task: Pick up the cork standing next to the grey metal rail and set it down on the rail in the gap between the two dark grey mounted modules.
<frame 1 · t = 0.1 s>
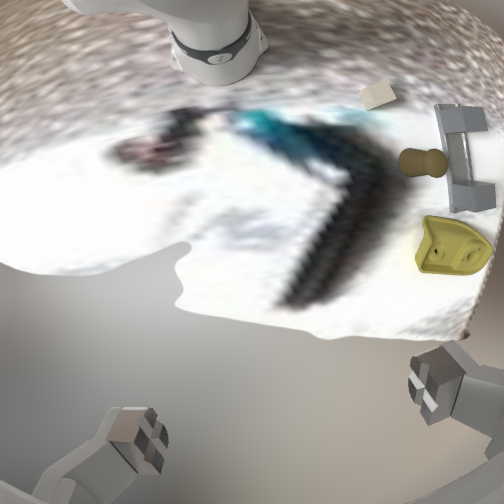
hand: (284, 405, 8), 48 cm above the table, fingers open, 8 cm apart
plastic component: (445, 246, 57), on the table
module 2: (448, 122, 48), resting on rail
module 1: (459, 192, 53), resting on rail
cork: (410, 162, 51), on the table
rail: (455, 157, 51), on the table
beige block: (371, 98, 48), on the table
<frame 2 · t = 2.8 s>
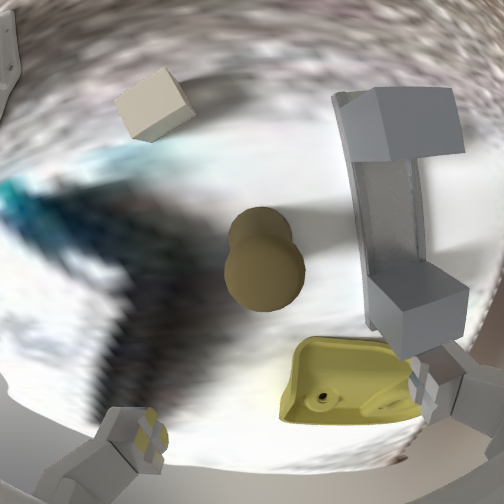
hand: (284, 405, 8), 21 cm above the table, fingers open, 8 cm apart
plastic component: (354, 378, 33), on the table
module 2: (373, 132, 25), resting on rail
module 1: (392, 283, 29), resting on rail
cork: (260, 238, 28), on the table
rail: (386, 211, 27), on the table
beige block: (164, 112, 24), on the table
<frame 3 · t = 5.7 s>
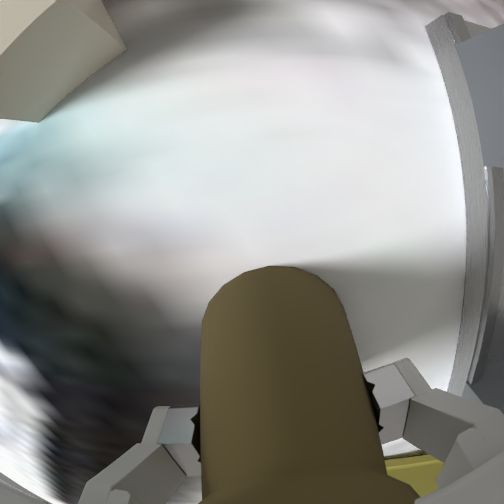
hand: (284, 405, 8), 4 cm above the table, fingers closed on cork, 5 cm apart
plastic component: (399, 484, 17), on the table
module 2: (497, 110, 9), resting on rail
module 1: (485, 375, 13), resting on rail
cork: (274, 332, 12), on the table, touching gripper
beige block: (66, 56, 8), on the table
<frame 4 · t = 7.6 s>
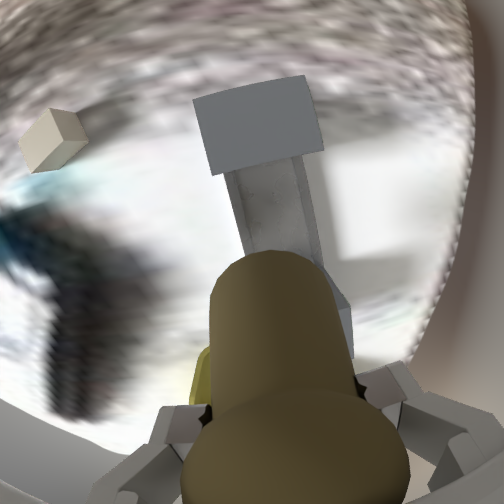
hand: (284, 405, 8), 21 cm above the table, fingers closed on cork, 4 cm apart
plastic component: (271, 387, 35), on the table
module 2: (254, 135, 25), resting on rail
module 1: (291, 292, 30), resting on rail
cork: (271, 308, 14), point 15 cm above the table, touching gripper
rail: (274, 218, 28), on the table
beige block: (66, 141, 25), on the table
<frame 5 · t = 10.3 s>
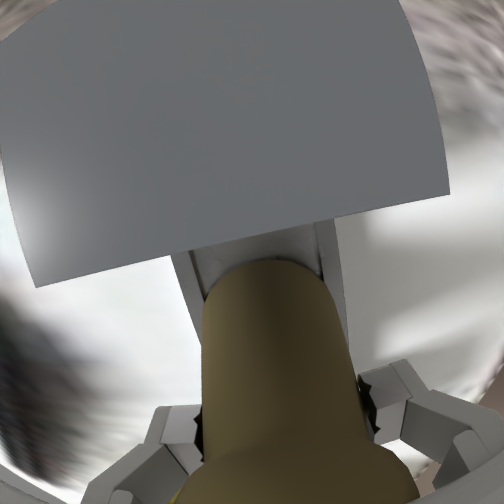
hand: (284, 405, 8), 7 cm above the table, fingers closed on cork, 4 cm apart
module 2: (229, 136, 12), resting on rail
cork: (269, 322, 13), point 2 cm above the table, touching gripper, rail
rail: (267, 299, 14), on the table
when the fingers open (7 cm above the table, at t = 11.2 s): cork stays where it is, resting on rail.
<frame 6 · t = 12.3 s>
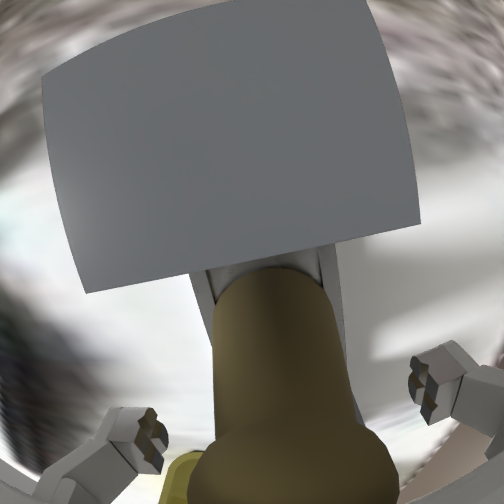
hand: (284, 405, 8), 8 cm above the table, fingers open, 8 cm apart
plastic component: (263, 489, 22), on the table
module 2: (239, 154, 14), resting on rail
cork: (273, 323, 14), point 2 cm above the table, touching rail
rail: (272, 304, 16), on the table
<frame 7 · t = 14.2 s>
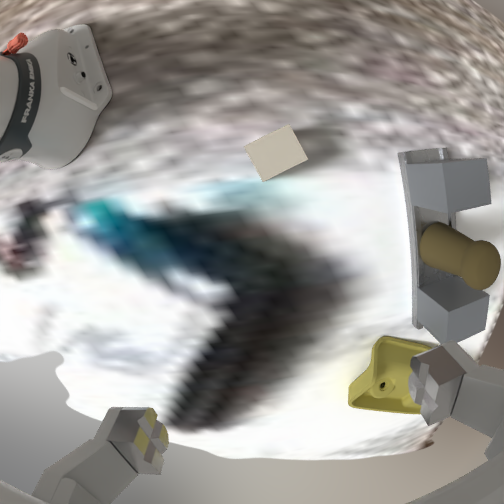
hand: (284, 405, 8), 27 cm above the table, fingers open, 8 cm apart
plastic component: (401, 374, 40), on the table
module 2: (424, 180, 32), resting on rail
module 1: (432, 293, 36), resting on rail
cork: (436, 244, 33), point 2 cm above the table, touching rail
rail: (430, 239, 34), on the table
beige block: (273, 156, 32), on the table
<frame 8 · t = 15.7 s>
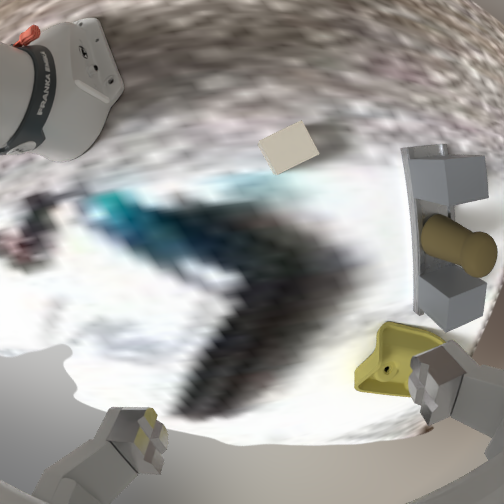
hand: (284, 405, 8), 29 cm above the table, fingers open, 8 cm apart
plastic component: (404, 359, 43), on the table
module 2: (425, 174, 34), resting on rail
module 1: (431, 281, 38), resting on rail
cork: (436, 235, 34), point 2 cm above the table, touching rail
rail: (430, 230, 36), on the table
beige block: (284, 150, 33), on the table
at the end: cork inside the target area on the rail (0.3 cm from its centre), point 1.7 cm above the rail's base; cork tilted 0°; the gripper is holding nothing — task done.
